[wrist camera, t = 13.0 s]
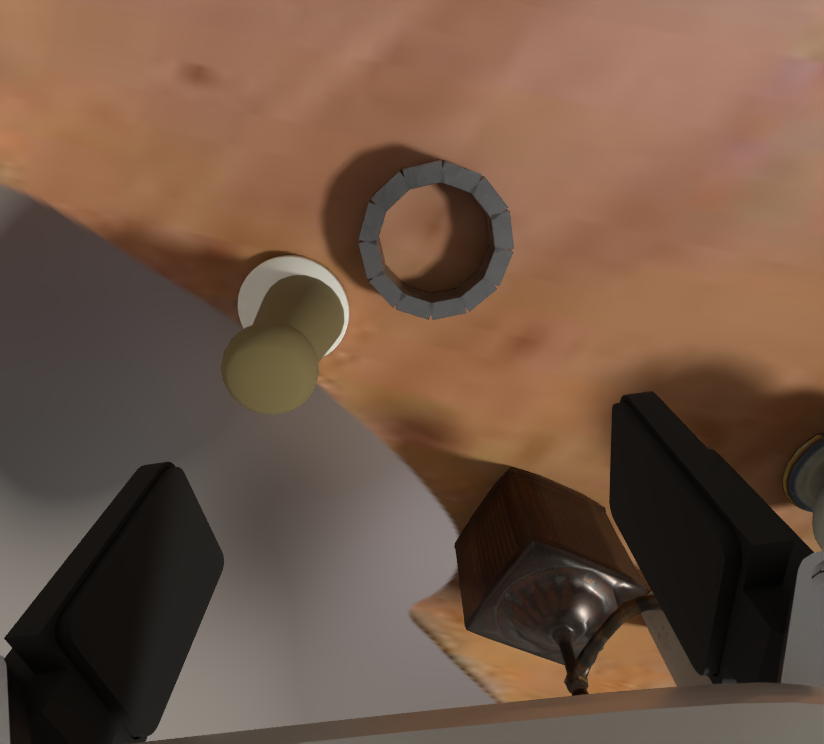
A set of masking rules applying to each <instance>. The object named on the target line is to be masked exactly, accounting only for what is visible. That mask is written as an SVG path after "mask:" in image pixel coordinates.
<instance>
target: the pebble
mask: <svg viewBox="0 0 824 744" xmlns="http://www.w3.org/2000/svg"><path fill="white" fill-rule="evenodd" d="M292 275H307V276H310V277H313V278H316V279H319V280H321V281H322V282H324V283H325V284H327V285H328V286H330V287H331V288H332V289H333V291H334V292H335V293H336V294H337V296H338V297H339V299H340V301H341V304H342V306H343V309H344V325H343V329H342V332H341V334H340V336H339V337H338V339H337V340H336V341H335V343H334V344H333V345H332V347H331V348H330V349H329V350H328V351H327V353H326V354H325V355H327V354H329V353H330V352H331V351H333V350H334V349H335V348H336V347H337V346H338V344H339V343H340V341H341V340H342V338H343V336H344V334H345V332H346V329H347V326H348V322H349V314H350V310H349V302H348V297H347V294H346V292H345V290H344V288H343V286H342V284H341V282H340V281H339V279H338V278H337V277H336V276H335V275H334V274H333V273H332V272H331V271H330V270H329V269H328V268H327V267H325V266H324V265H322V264H321V263H319V262H317V261H315V260H313V259H310V258H307V257H303V256H298V255H282V256H277V257H274V258H271V259H268V260H266V261H264V262H263V263H261V264H260V265H258V266H257V267H256V268H255V269H254V270H252V271H251V272H250V274H249V275H248V276H247V277H246V279H245V280H244V282H243V284H242V286H241V288H240V292H239V296H238V313H239V318H240V321H241V324H242V326H243V328H246V327H248V326H252V324H253V322H254V320H255V317H256V315H257V312H258V310H259V308H260V305H261V303H262V301H263V298H264V296H265V295H266V293H267V292H268V290H269V288H270V287H271V286H272V285H274V284H275V283H276V282H277V281H279V280H280V279H283V278H286V277H289V276H292ZM325 355H324V356H325ZM324 356H323V357H324Z"/></svg>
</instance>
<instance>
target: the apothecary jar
mask: <svg viewBox="0 0 824 744" xmlns="http://www.w3.org/2000/svg"><path fill="white" fill-rule="evenodd" d="M783 489H784V492H785V494H786V496H787V497H788V499H789V500H790V501H791V502H792V503H793V504H794V505H796V506H797V507H799V508H800V509H803V510H806V511H809V512H813V532H814V536H815V539H816V541H817V543H818V544H819V546H820V547H821V549H822V550H823V551H824V434H818V435H816V436H814V437H813V438H811V439H810V440H808V441H807V442H806V443H805V444H804V445H802V446H801V447H800V448H799V449H798V450H797V451H796V452H795V454H794V455H793V457H792V458H791V460H790V461H789V463H788V465H787V467H786V469H785V472H784V475H783Z"/></svg>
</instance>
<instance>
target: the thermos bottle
mask: <svg viewBox="0 0 824 744" xmlns="http://www.w3.org/2000/svg"><path fill="white" fill-rule="evenodd" d="M647 595H654V593H653V592H652V590H651V591H650V592H649V593H648V594H647ZM641 615H642V618H643V620H644V622H645V624H646V626H647V628H648V630H649V632H650V634H651V636H652V638H653V640H654V642H655V644H656V646H657V648H658V650H659V652H660V654H661V656H662V658H663V660H664V662H665V664H666V666H667V667H668V669H669V671H670V673H671V675H672V677H673V679H674V681H675V683H676V685H677V687H679V686H691V685H703V684H712V682H711V680H710V679H709V677H707V676H706V675H702V676H701V675H699V674H698V673H697V672H696V671H695V669H694V668H693V666H692V664H691V663H690V661H689V659H688V657H687V655H686V653H685V651H684V649H683V648H682V646H681V644H680V642H679V640H678V638H677V636H676V635H675V633H674V631H673V629H672V627H671V625H670V623H669V621H668V620H667V618H666V616H665V614H664V612H660V611H644V612H642V613H641Z"/></svg>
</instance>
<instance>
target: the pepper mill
mask: <svg viewBox="0 0 824 744" xmlns="http://www.w3.org/2000/svg"><path fill="white" fill-rule="evenodd" d="M455 549H456V557H457V564H458V572H459V581H460V589H461V597H462V605H463V613H464V624H465V627H466V630H468V631H470V632H473V633H475V634H478V635H480V636H483V637H485V638H488V639H491V640H494V641H497V642H500V643H503V644H505V645H508V646H511V647H514V648H517V649H520V650H523V651H525V652H528V653H531V654H534V655H537V656H539V657H542V658H545V659H548V660H551V661H554V662H557V663H560V664H563V665H565V668H566V671H567V675H566V678H565V681H564V682H565V684H566V686H567V689H568V691H569V692H570V693H572V696H576V695H586V694H589V693H588V692H587V688H588V681H587V676H588V673H589V671H590V668H591V666H592V665H593V663H594V662H595V660H596V658H597V655H598V653H599V652H600V651H601V650H602V649H603V648H604V644H605V643H606V642H607V640H608V639H609V638H610V637H611V636H612V635H613V634H614V633H615V631H616V630H617V629H618V628H619V627H620V626H621V625H622V624H623V623H624V622H625V621H627V620H628V619H630V618H631V617H633V616H635V615H637V614H640V613H642V612H644V611H660V612H663V610H662V608H661V607H660V605H659V603H658V601H657V599H656V597H655V595H646V596H642V595H643V594H644V593H645V592H646V591H647V590H646V586H645V584H644V583H643V581H642V579H641V578H640V576H639V574H638V572H637V570H636V568H635V567H634V565H633V563H632V561H631V559H630V557H629V555H628V554H627V552H626V550H625V548H624V546H623V545H622V543H621V541H620V539H619V537H618V536H617V534H616V532H615V530H614V528H613V526H612V524H611V522H610V520H609V518H608V516H607V514H606V510H605V507H603V506H601V505H600V504H598V503H596V502H595V501H593V500H591V499H590V498H588V497H586V496H585V495H583V494H581V493H579V492H577V491H574V490H572V489H570V488H568V487H565V486H563V485H561V484H558V483H556V482H554V481H552V480H549V479H547V478H545V477H542V476H540V475H537V474H533V473H530V472H526V471H523V470H519V469H516V468H512V467H511V468H510V469H509V470H508V471H506V472H505V473H504V474H503V475H502V476H501V477H500V478H499V480H498V481H497V482H496V484H495V485H494V486H493V488H492V489H491V490H490V492H489V493H488V494H487V496H486V497H485V499H484V500H483V501H482V503H481V504H480V506H479V507H478V508H477V510H476V511H475V513H474V514H473V516H472V517H471V519H470V521H469V522H468V524H467V525H466V527H465V528H464V530H463V531H462V533H461V535H460V536H459V538H458V539H457V541H456V542H455ZM706 676H707V677H708V675H706Z"/></svg>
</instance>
